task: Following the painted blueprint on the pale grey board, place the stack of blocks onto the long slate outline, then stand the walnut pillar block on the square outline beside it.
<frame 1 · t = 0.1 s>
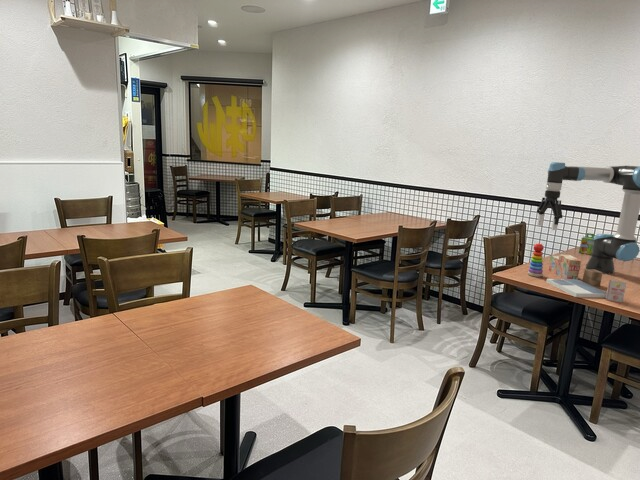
hand: (546, 227, 251), 28 cm above the table, fingers open, 13 cm apart
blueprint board: (576, 289, 233), on the table
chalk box: (586, 253, 324), on the table
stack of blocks: (562, 275, 259), on the table
stacking toy: (534, 275, 256), on the table
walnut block: (590, 284, 243), on the table
white red printed box: (613, 300, 218), on the table
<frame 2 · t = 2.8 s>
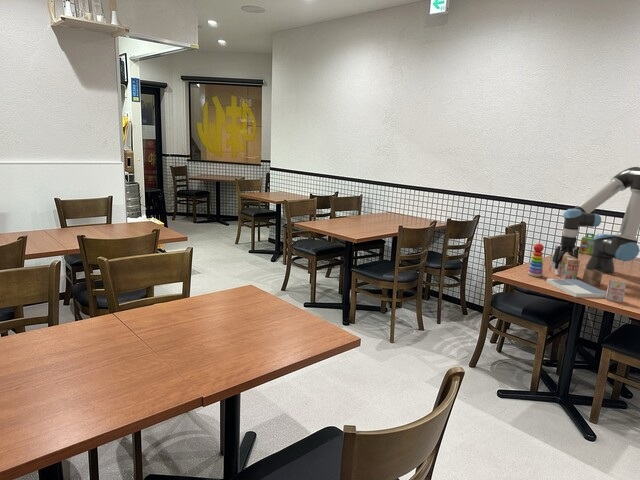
hand: (562, 274, 259), 1 cm above the table, fingers closed on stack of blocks, 7 cm apart
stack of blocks: (561, 275, 260), on the table, touching gripper
everything else where it was.
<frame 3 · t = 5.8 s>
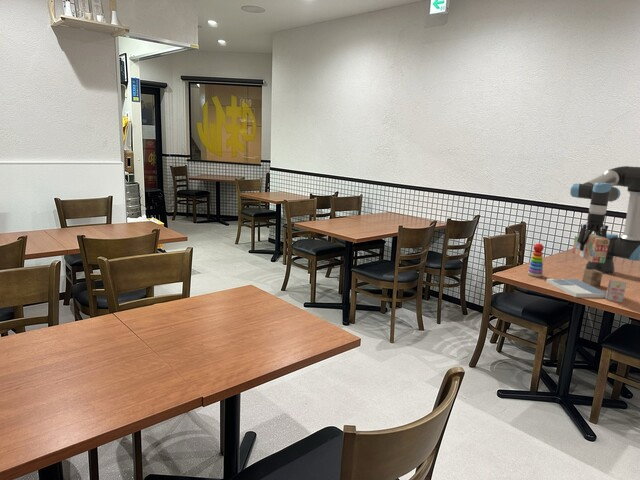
hand: (588, 256, 230), 18 cm above the table, fingers closed on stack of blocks, 7 cm apart
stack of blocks: (587, 258, 231), point 17 cm above the table, touching gripper
everything else where it was.
when the fingers open (4 cm above the table, at t = 8.7 s): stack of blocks drops 1 cm, resting on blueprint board.
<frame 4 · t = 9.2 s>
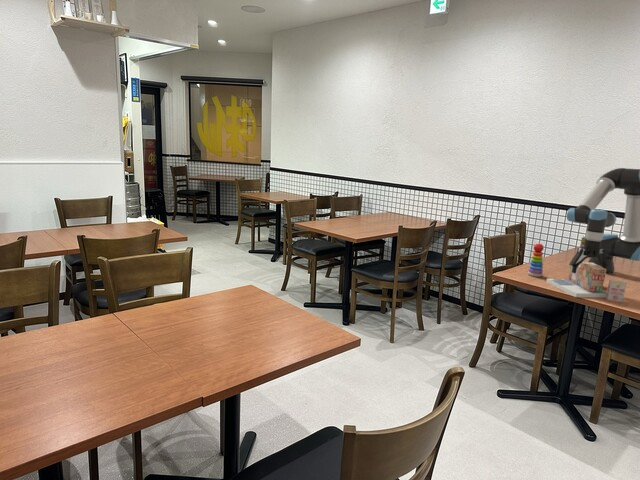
hand: (585, 279, 232), 6 cm above the table, fingers open, 13 cm apart
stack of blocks: (584, 285, 233), point 2 cm above the table, touching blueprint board
everything else where it was.
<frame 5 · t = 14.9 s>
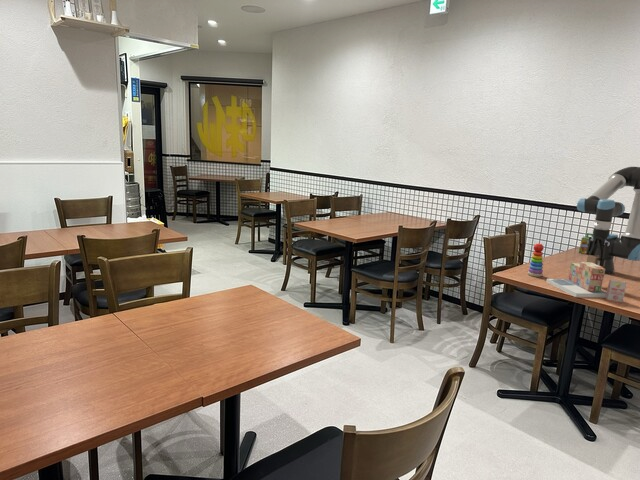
hand: (594, 269, 242), 8 cm above the table, fingers closed on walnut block, 6 cm apart
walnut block: (594, 270, 242), point 8 cm above the table, touching gripper
everything else where it was.
when the fingers open (3 cm above the table, at t = 20.1 s): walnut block stays where it is, resting on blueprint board.
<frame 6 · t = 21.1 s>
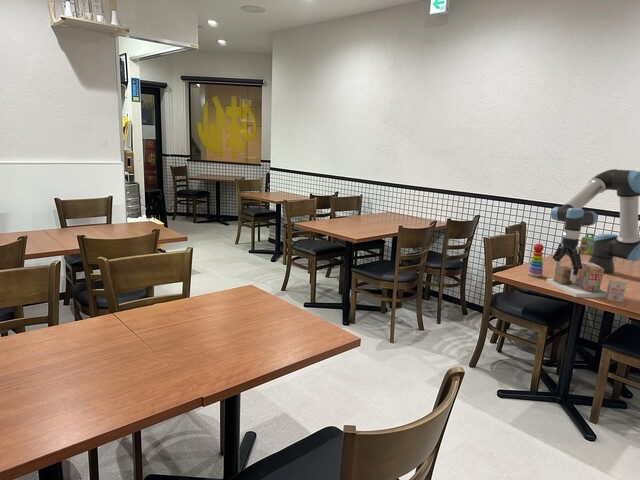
hand: (564, 276, 237), 5 cm above the table, fingers open, 13 cm apart
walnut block: (562, 282, 236), point 2 cm above the table, touching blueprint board
everything else where it was.
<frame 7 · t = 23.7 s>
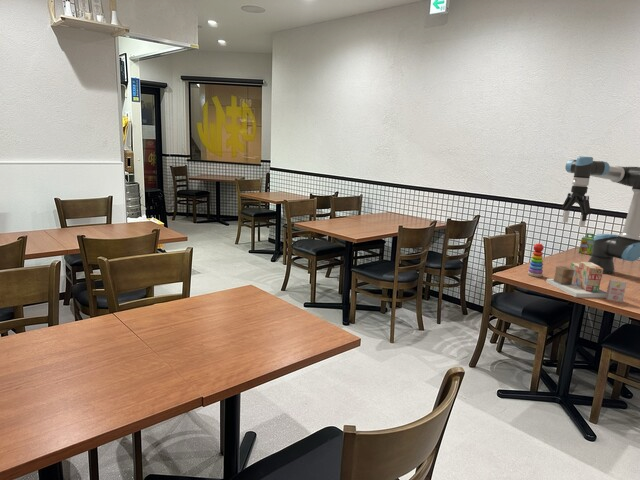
hand: (573, 224, 243), 32 cm above the table, fingers open, 13 cm apart
nothing on the table moved.
at the end: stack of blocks inside the target area on the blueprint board (1.1 cm from its centre), point 2.0 cm above the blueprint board's base; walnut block inside the target area on the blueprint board (0.1 cm from its centre), point 2.2 cm above the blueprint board's base; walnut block tilted 0° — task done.
